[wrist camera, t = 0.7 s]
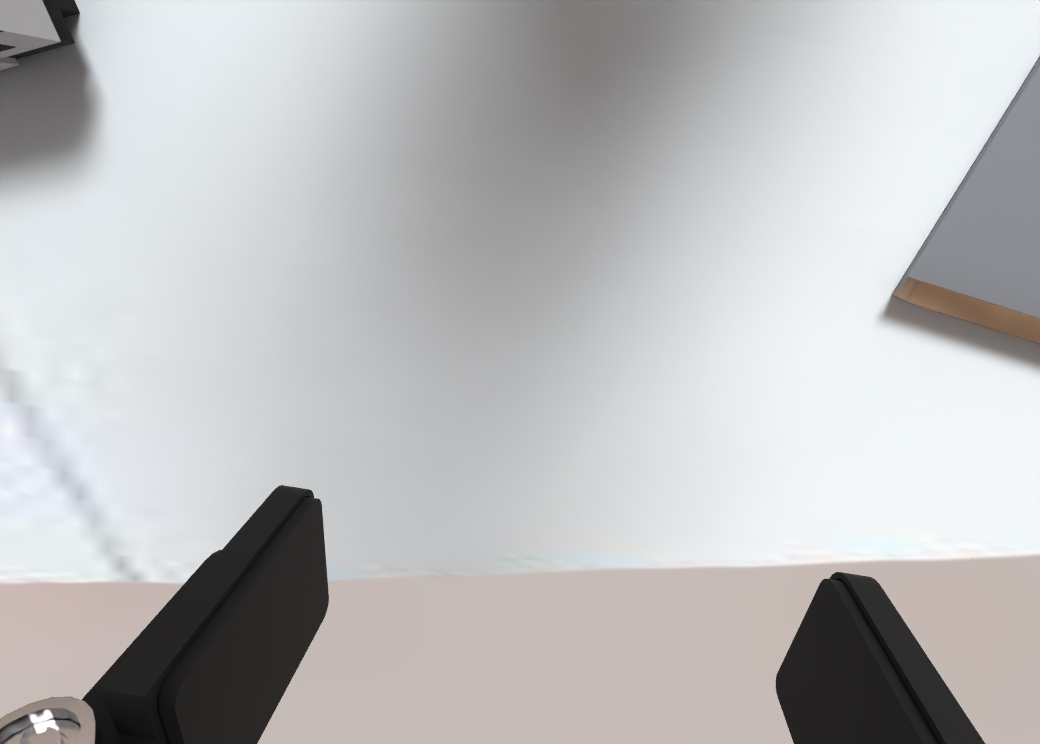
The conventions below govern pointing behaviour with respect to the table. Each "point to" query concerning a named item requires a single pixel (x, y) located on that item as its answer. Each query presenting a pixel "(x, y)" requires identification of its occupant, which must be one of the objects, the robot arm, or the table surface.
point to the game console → (32, 27)
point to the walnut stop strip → (970, 309)
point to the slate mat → (994, 217)
